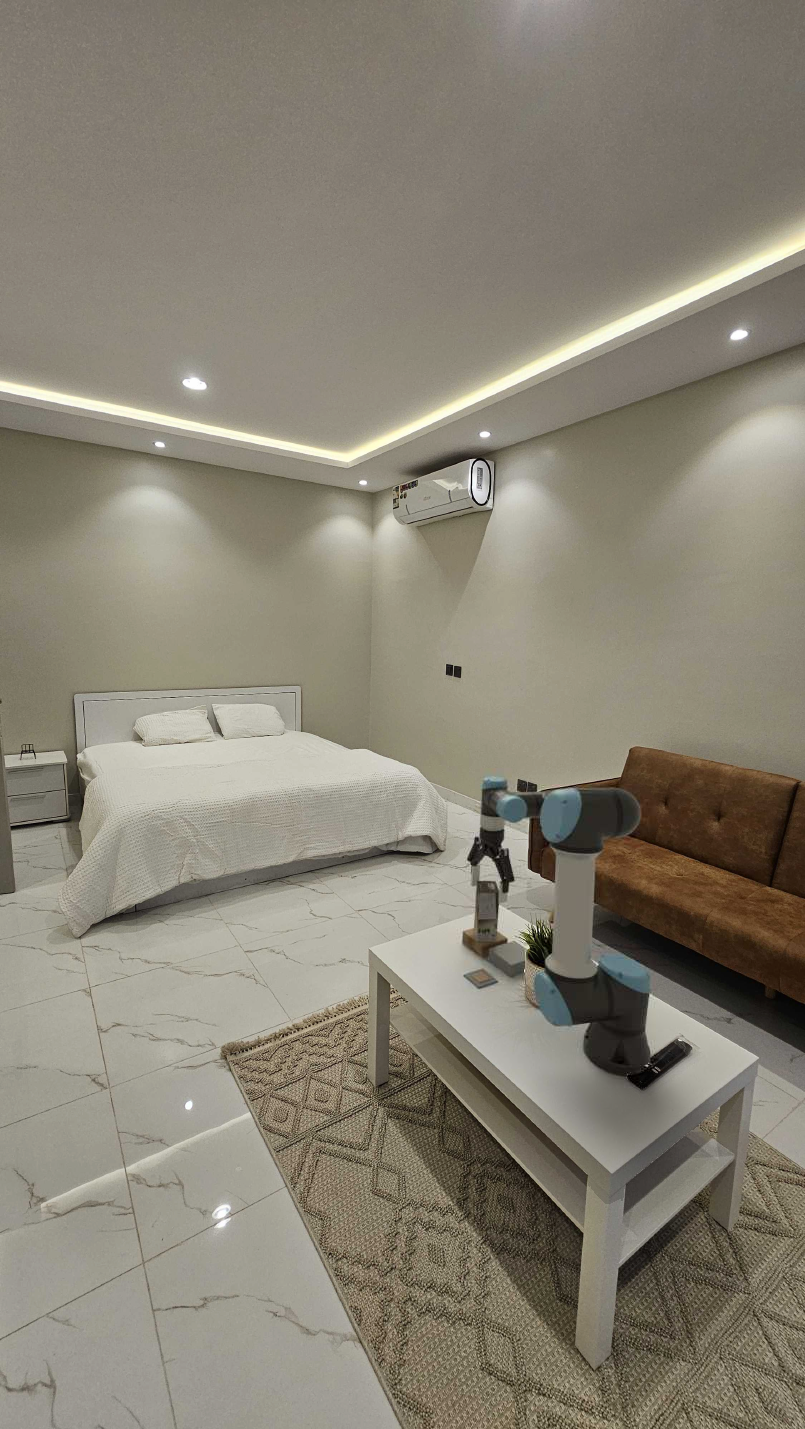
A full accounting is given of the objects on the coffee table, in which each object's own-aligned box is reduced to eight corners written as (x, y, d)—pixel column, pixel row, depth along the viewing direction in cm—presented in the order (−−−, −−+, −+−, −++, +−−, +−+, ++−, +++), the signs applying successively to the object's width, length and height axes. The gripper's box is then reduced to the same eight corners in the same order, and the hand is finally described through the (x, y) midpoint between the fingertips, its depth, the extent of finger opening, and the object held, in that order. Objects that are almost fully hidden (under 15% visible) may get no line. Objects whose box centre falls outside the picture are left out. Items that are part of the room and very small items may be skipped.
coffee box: (497, 942, 185) (500, 893, 183) (476, 941, 185) (479, 892, 183) (492, 927, 194) (496, 880, 192) (472, 927, 194) (475, 879, 192)
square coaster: (498, 981, 171) (498, 979, 171) (478, 988, 168) (478, 986, 168) (482, 969, 177) (482, 967, 177) (463, 975, 174) (463, 973, 174)
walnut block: (506, 950, 188) (507, 938, 188) (481, 958, 183) (482, 946, 183) (486, 935, 197) (487, 924, 196) (462, 942, 192) (462, 931, 191)
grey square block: (535, 969, 179) (537, 956, 178) (510, 977, 174) (511, 964, 173) (513, 952, 187) (514, 940, 187) (488, 960, 182) (489, 948, 182)
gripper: (529, 837, 176) (524, 906, 178) (476, 814, 197) (473, 876, 200) (509, 841, 172) (505, 912, 175) (458, 817, 193) (455, 880, 196)
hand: (488, 893), depth 187 cm, fingers open, 13 cm apart
